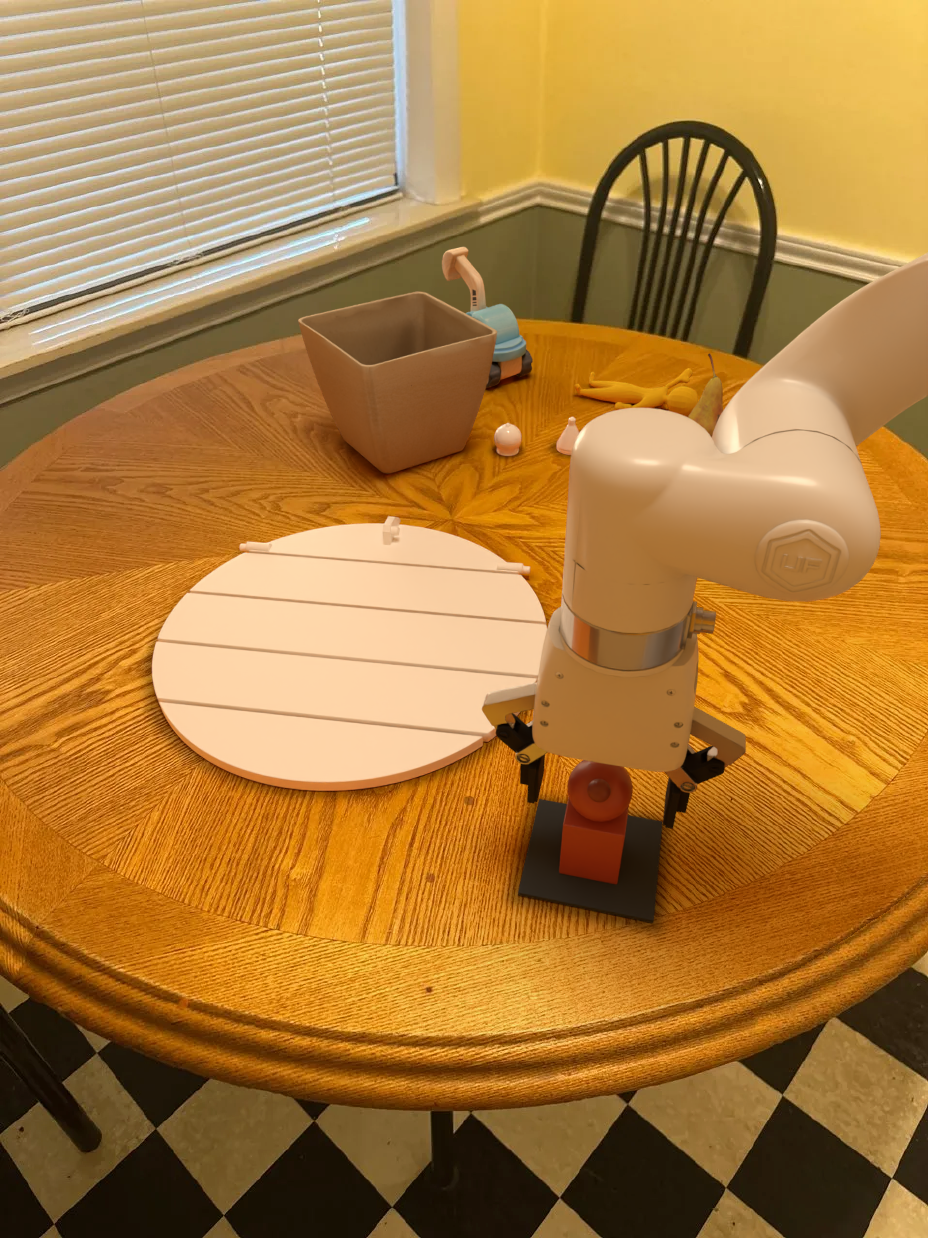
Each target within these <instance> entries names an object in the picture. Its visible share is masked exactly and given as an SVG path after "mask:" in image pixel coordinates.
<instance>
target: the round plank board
mask: <svg viewBox="0 0 928 1238" xmlns="http://www.w3.org/2000/svg"><path fill="white" fill-rule="evenodd" d="M401 521H402V520H401V518H400V517H398V516H390V515H388V516H387V518H386V520H385V521H384V523H381V522H379V523H378V522H377V523H376V522H375V523H373V522H371V523H369V522H368V523H366V522H365V523H351V524H350V523H349V524H339V525H332V526H331V525H330V526H324V527H318V528H314V529H308V530H304V531H300V532H295V533H292V534H288V535H286V536H282V537H280V538H276V539H272V540H270V541H268V542H259V541H258V542H257V541H246V542H245V543H240V544H239V551H240V552H242V553H241V554H239V555H237V556H234V557H233V558H231V559H229V560H228V561H226V562H224V563H223V564H221V565H220V566H218V567H217V568H215V569H214V570H213V571H211V572H209V573H208V574H206V575H205V576H204V577H203V578H201V580H199V581H198V582H197V583H196V584H195V585H194V586H193V587H191V588H190V589H189V592H186V594H184V595H183V597H181V599H180V600H179V601H178V602H177V604H176V605H175V606H174V607H173V609H172V610H171V611H170V613H169V615H168V616H167V618H166V620H165V621H164V623H163V625H162V626H161V628H160V631H159V633H158V635H157V641H156V642H155V645H154V648H153V652H152V653H153V654H152V658H151V659H152V661H151V676H152V677H151V678H152V684H153V689H154V693H155V696H156V699H157V702H158V704H159V707H160V709H161V712H162V714H163V716H164V718H165V719H166V721H167V723H168V725H169V726H170V728H171V729H172V730H173V732H174V733H175V734H176V735H177V737H179V739H180V740H181V741H182V742H183V743H184V744H185V745H187V747H188V748H190V749H191V750H192V751H194V753H196V754H198V756H200V757H202V758H203V759H204V760H206V761H208V762H209V763H211V764H212V765H214V766H216V767H218V768H220V769H222V770H223V771H227V772H229V773H231V774H233V775H235V776H238V777H242V778H245V779H247V780H249V781H254V782H257V783H261V784H265V785H268V786H273V787H279V788H284V789H285V788H286V789H293V790H300V791H301V790H302V791H319V792H320V791H321V792H327V791H328V792H331V791H332V792H333V791H334V792H336V791H351V790H352V791H353V790H362V789H363V790H364V789H370V788H376V787H377V788H378V787H382V786H388V785H392V784H396V783H400V782H405V781H408V780H411V779H415V778H418V777H421V776H424V775H427V774H430V773H432V772H436V771H437V770H440V769H442V768H444V767H447V766H449V765H451V764H454V763H455V762H458V761H459V760H461V759H464V758H465V757H466V756H469V755H470V754H472V753H473V752H475V751H477V750H479V749H480V748H481V747H483V746H484V743H489V742H490V741H491V740H493V739H494V738H495V737H497V736H496V729H495V727H494V726H492V725H491V723H490V722H489V720H488V719H487V717H486V716H485V714H484V713H483V711H482V706H483V703H484V700H485V697H486V695H487V694H488V693H492V692H496V691H501V690H505V689H510V688H514V687H519V686H523V685H528V684H532V683H537V679H538V672H539V666H540V660H541V654H542V649H543V644H544V640H545V636H546V631H547V628H548V625H547V621H546V616H545V613H544V610H543V609H544V608H543V606H542V604H541V602H540V600H539V598H538V596H537V594H536V592H535V591H534V590H533V588H532V586H531V585H530V584H529V582H528V581H527V580H526V579H525V578H524V576H523V575H530V574H531V566H527V565H524V563H523V562H510V561H506V560H505V559H503V558H502V557H501V556H499V555H497V554H496V553H494V552H493V551H491V550H489V549H487V548H485V547H483V546H481V545H480V544H477V543H475V542H474V541H473V542H472V541H471V540H468V539H466V538H464V537H460V536H457V535H454V534H451V533H448V532H445V531H441V530H436V529H432V528H428V527H423V526H416V525H408V524H400V523H401ZM520 713H521V712H517V713H513V714H515V715H516V716H517V717H518V716H519V714H520Z"/></svg>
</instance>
